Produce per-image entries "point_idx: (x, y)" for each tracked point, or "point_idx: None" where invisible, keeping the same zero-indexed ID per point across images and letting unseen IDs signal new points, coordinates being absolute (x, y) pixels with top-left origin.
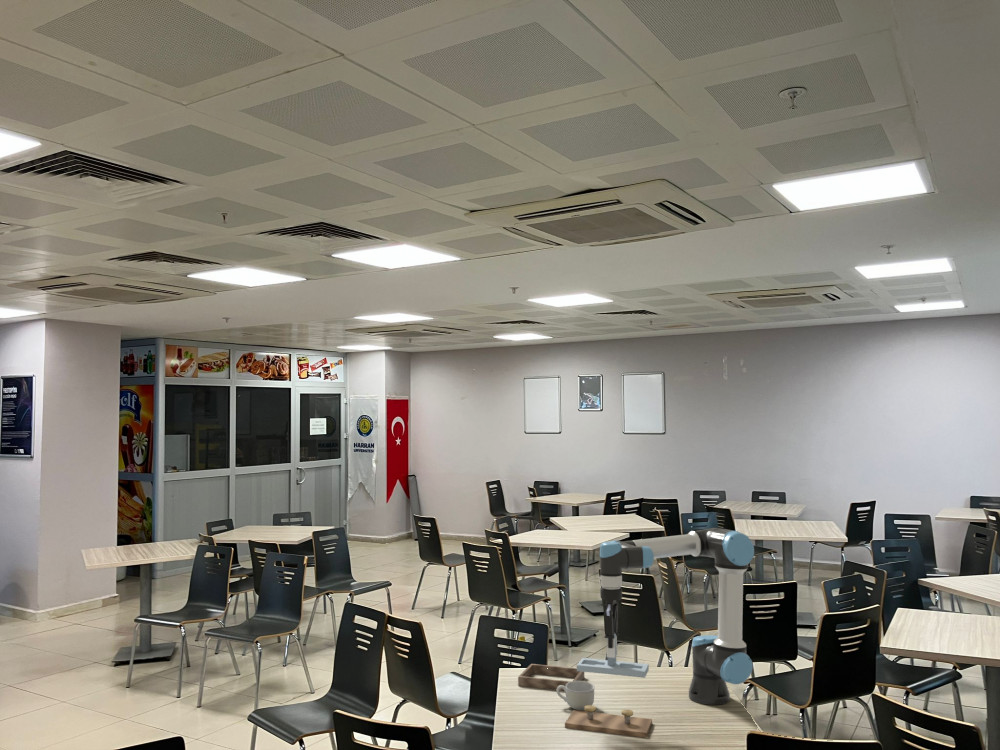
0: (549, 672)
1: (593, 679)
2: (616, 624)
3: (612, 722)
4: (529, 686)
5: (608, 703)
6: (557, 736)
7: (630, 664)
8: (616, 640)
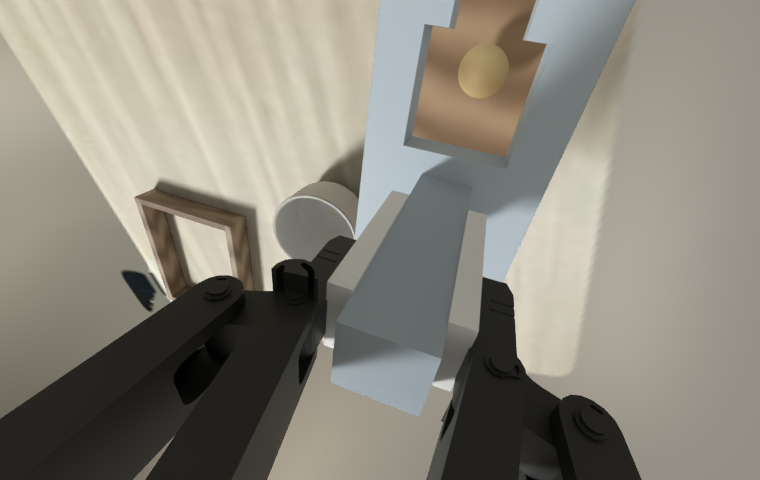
0: (173, 261)
1: (151, 168)
2: (205, 401)
3: (477, 126)
4: None
5: (290, 132)
6: (550, 276)
7: (419, 65)
8: (367, 257)
